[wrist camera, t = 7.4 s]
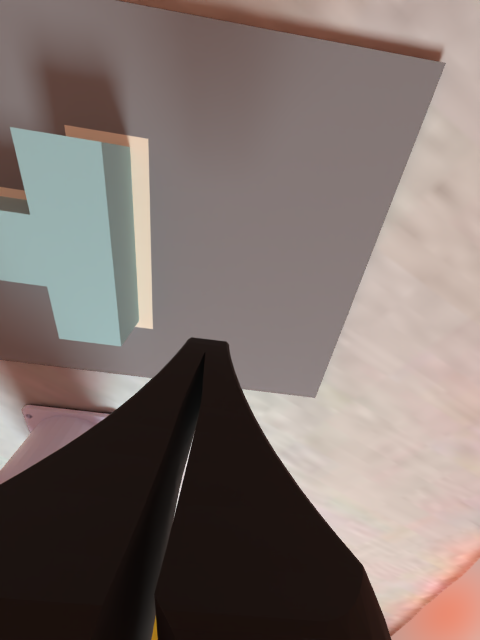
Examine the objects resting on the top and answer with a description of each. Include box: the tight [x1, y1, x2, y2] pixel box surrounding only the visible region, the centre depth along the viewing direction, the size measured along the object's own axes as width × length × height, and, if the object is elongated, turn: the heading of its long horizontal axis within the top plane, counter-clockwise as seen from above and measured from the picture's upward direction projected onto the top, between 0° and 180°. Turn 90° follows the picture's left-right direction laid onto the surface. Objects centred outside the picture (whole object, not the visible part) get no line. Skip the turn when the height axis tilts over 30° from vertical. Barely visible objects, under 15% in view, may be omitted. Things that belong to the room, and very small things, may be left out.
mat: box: [0, 0, 446, 398], centre depth 16 cm, size 20×26×1 cm
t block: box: [0, 127, 139, 346], centre depth 14 cm, size 10×10×3 cm
